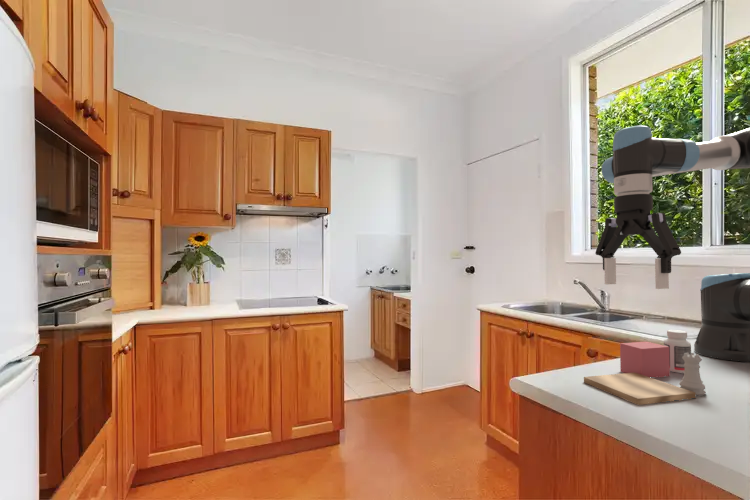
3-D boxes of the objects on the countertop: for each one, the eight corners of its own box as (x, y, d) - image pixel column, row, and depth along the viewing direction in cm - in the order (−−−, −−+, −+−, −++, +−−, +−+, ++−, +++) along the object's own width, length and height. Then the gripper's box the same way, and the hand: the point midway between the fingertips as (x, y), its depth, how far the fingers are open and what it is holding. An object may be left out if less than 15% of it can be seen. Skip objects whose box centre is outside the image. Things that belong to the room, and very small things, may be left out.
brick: (646, 369, 100) (646, 341, 100) (669, 376, 94) (669, 346, 94) (620, 371, 98) (620, 343, 98) (642, 379, 92) (641, 348, 92)
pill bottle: (694, 371, 98) (694, 331, 98) (687, 375, 95) (686, 334, 95) (668, 366, 102) (668, 328, 102) (660, 370, 99) (660, 330, 99)
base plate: (634, 377, 93) (634, 372, 93) (695, 398, 79) (695, 392, 79) (583, 382, 90) (583, 376, 90) (638, 405, 76) (638, 398, 76)
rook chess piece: (711, 396, 80) (710, 357, 80) (686, 395, 81) (685, 356, 81) (698, 389, 85) (697, 351, 85) (674, 388, 86) (673, 351, 86)
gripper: (579, 201, 104) (580, 283, 103) (672, 185, 79) (674, 291, 79) (603, 202, 105) (604, 282, 105) (701, 186, 81) (703, 290, 81)
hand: (634, 286), depth 92 cm, fingers open, 13 cm apart
